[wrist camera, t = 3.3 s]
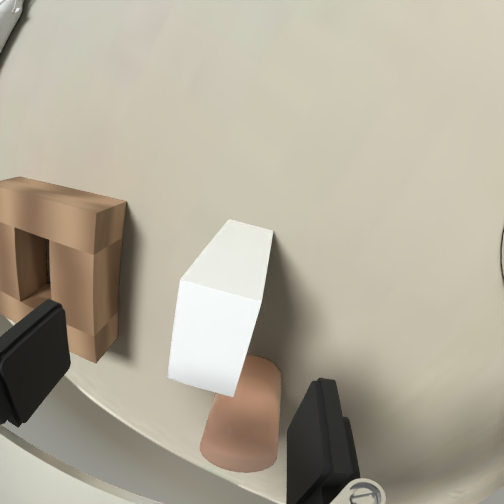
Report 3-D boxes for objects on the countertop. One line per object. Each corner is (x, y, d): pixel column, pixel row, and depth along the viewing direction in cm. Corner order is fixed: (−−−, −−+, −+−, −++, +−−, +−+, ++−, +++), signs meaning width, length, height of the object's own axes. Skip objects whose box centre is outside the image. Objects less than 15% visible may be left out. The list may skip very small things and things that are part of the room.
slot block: (126, 201, 21) (96, 213, 17) (117, 337, 25) (96, 363, 21) (19, 176, 21) (-13, 184, 17) (22, 294, 25) (-3, 312, 21)
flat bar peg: (273, 230, 20) (261, 301, 11) (255, 297, 22) (233, 397, 13) (228, 219, 20) (180, 279, 11) (214, 286, 22) (167, 378, 13)
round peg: (289, 363, 24) (287, 441, 16) (272, 403, 25) (265, 477, 18) (227, 348, 24) (205, 423, 16) (217, 390, 25) (195, 462, 18)
